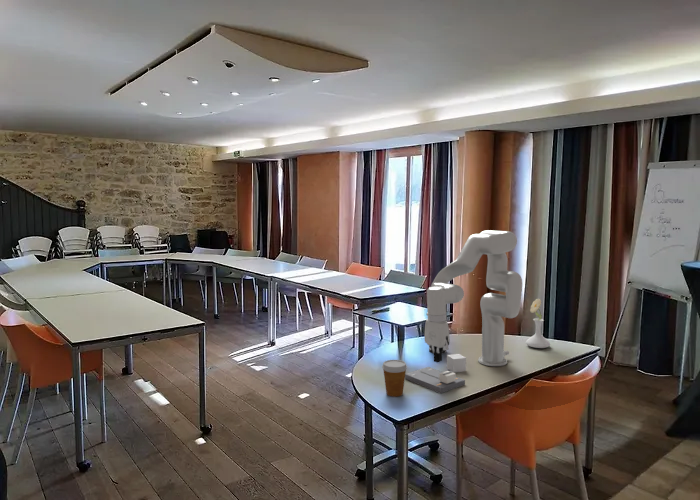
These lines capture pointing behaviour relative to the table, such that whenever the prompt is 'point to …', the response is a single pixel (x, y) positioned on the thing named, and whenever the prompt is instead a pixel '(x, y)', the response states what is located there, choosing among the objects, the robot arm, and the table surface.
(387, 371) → the disposable coffee cup
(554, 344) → the table surface
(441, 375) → the fader
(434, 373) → the console
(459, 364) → the white cube
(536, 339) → the flower in vase
